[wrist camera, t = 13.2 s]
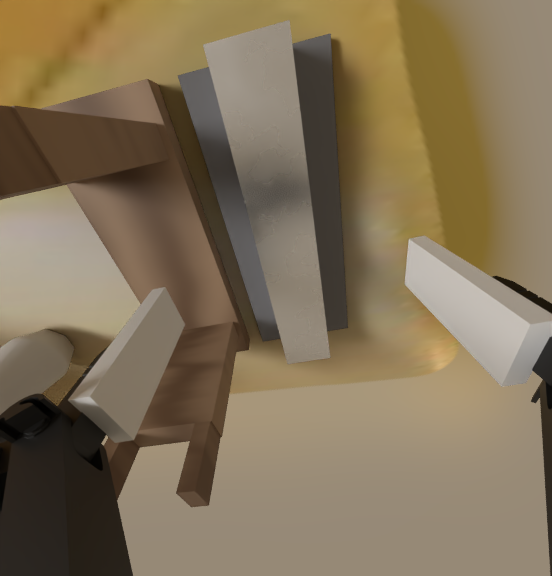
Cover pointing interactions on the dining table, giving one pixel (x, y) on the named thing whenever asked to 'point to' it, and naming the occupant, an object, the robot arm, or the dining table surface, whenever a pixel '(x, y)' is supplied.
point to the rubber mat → (321, 172)
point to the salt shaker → (32, 365)
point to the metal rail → (274, 177)
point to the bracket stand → (142, 252)
